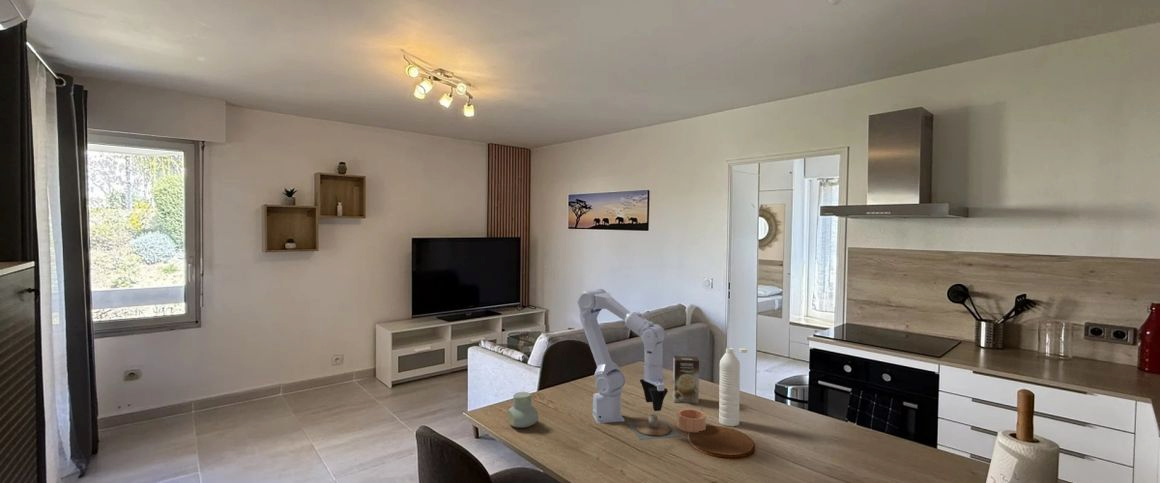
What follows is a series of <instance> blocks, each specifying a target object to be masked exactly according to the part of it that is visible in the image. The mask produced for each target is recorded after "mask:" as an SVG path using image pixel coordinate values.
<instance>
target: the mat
mask: <svg viewBox="0 0 1160 483" xmlns="http://www.w3.org/2000/svg"><path fill="white" fill-rule="evenodd" d="M658 421H661V422H664V423H666V424H668V425H669V426H670V428H671V431H670V433H669V434H667V435H664V436H647V435H643V434H641V433H639V432H638V431H637V430H636V424H637V423H639V422H640V421H633V422H632V421H630V422H628V421H627V424H628V425H629V426H630V428H631V430H632V431H633V432H634V434H635V435H636V437H637V438H638V440H639V441H640V440H651V439H653V440H654V439H665V438H677V437H678V438H679V437H681V436H680V435H681V434H679V433H678V432H677V431H676V430H675V429H674V428H673V426H672V425H671V424H670V423H669V422H668V420H666V419H658Z"/></svg>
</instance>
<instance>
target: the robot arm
mask: <svg viewBox="0 0 1160 483" xmlns="http://www.w3.org/2000/svg"><path fill="white" fill-rule="evenodd" d="M577 305H578V309H579V319H580V322H581V325H582V330H583V331H584V334H585V337H586V339H587V342H588V345H589V348H590V351H591V353H592V356H593V359H594V362H595V364H596V369H595V372H594V375H593V376H594V379H595V388H596V390H597V391H598V392H595V393H593V394H592V416H593V418H594V420H595V422H596V423H597V424H604V423H605V424H606V423H617V422H618V423H619V422H625V418H624V417H623V416H622V390H623V389H622V388H624V386H625V383H626V378H625V377H626V376H625V375H624V373H623V372H622V371H621V369H620V367H619V365H618V364H616V363H615V362H614V361H613V360H612V358H611V354H610V352H609V349H608V346H607V344H606V341H605V337H604V334H603V332H602V330H601V326H600V324H599V321H598V316H599V314H600V312H601V311H602V310H607V311H609V312H610V313H612V314H613V315H616V316H617V317H618V318H620V320H623V321H624V325H625V327H626V328H628V329H629V330H631V331H632V332H633V333H634V334H635V335H637V336H638V337H640V340H641V342H642V343H643V348H644V352H643V354H644V356H643V358H644V360H643V361H644V365H643V366H644V367H643V368H644V369H643V372H642V373H643V376H642V377H643V378H641V379H639V382H640V384H641V386H642V389H643V394H644V399H645V402H646V403H652V408H653V411H654V412H659V411H662V406H663V403H664V400H665V397H666V395H667V394H668V392H669V390H668V388H666V387H665V383H664V381H666V380H667V377H666V376H665V375H663V359H664V358H663V352H664V351H663V350H664V349H663V347H664V346H663V341H665V339H666V336H667V335H666V330H665V329H664V327H663V326H662V325H661V324H654V322H652V321H650V320H648V319H647V318H645V317H644V316H642V313H641V312H639V311H638V312H637V311H633V312H631V311H629V310H628V309H627V308H626V307H625V306H624V305H622V304H621V303H620V302H619V301H617V300H616V299H615V298H614V297H613V296H612V295H611V293H610V292H607V291H606V290H605V289H603V288H598V289H593V290H585V291H582V292H581V293H580V295H579V297H578V298H577Z"/></svg>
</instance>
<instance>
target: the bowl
mask: <svg viewBox="0 0 1160 483" xmlns="http://www.w3.org/2000/svg"><path fill="white" fill-rule="evenodd" d="M676 427H677V428H678V429H679V430H681V431H684V432H687V433H700V432H699V431H702V432H703V430H704V431H705V430H706V429H707V413H706V412H704V411H702V410H700V409H696V408H695V409H694V408H682V409H680V410H677V412H676Z"/></svg>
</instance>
